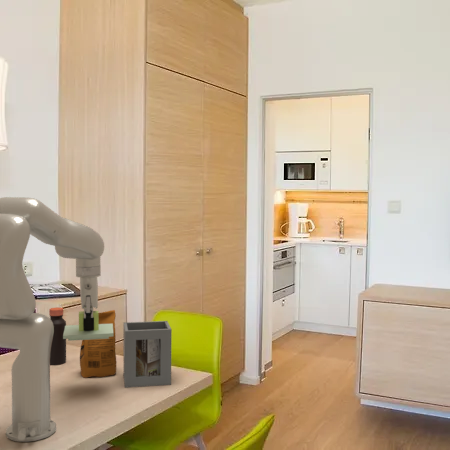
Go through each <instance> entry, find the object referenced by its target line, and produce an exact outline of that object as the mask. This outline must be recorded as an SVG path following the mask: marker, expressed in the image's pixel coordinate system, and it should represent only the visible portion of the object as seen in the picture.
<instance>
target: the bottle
mask: <svg viewBox="0 0 450 450" xmlns="http://www.w3.org/2000/svg"><path fill="white" fill-rule="evenodd" d="M63 316H64V308H63V307H50V308H49V318H50V319H51V321H52V322H53V326H54V333H53V339H52V344H51V351H50V366H57V365H59V366H60V365H63V364H65V363H66V362H67V339H63V334H64V330H65V326H67V321H66V320H65V319H64V318H63Z"/></svg>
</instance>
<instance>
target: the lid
mask: <svg viewBox="0 0 450 450" xmlns="http://www.w3.org/2000/svg"><path fill="white" fill-rule="evenodd" d="M98 313H99V310H93V317H94V330H92V331H84V330H83V318H84V310H82V311H81V310H80V311H78V324H75V325H74V324H72V325H66V326H65V330H64V334H63V339H66V340H67V341H69V342H70V341H72V342H73V341H82V340H91V339H109V337H113V336H114V335H113V323H112V324H99V314H98Z"/></svg>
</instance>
